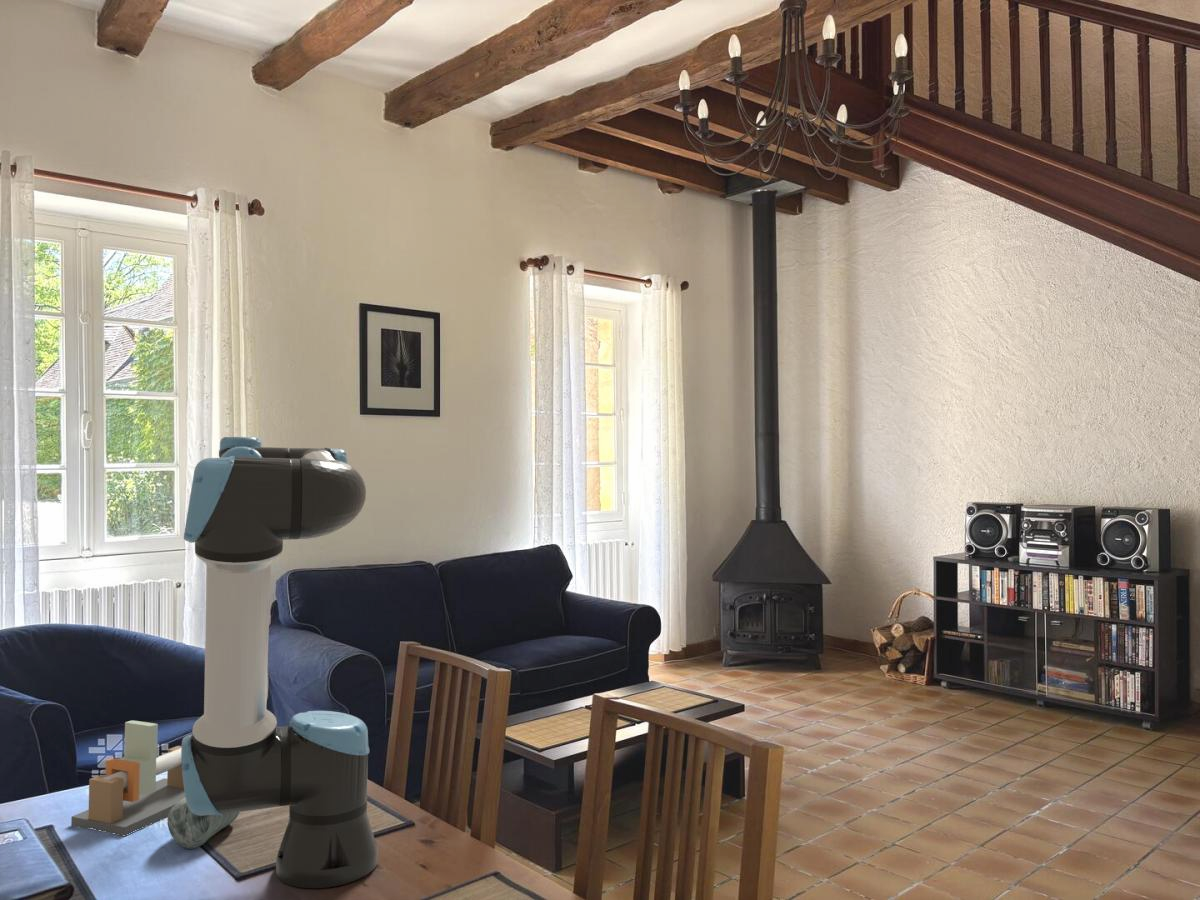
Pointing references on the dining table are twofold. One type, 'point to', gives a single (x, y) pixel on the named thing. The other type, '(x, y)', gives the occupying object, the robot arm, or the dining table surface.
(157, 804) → the rig
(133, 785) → the ring
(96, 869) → the dining table surface
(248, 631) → the robot arm
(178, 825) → the grey rounded lump
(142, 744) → the sleeve
